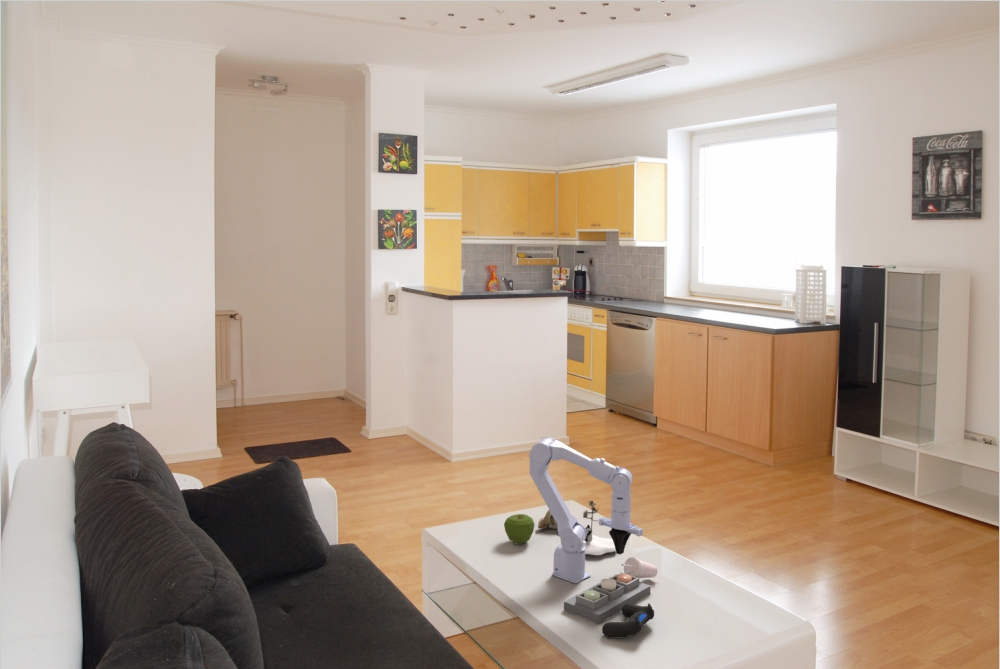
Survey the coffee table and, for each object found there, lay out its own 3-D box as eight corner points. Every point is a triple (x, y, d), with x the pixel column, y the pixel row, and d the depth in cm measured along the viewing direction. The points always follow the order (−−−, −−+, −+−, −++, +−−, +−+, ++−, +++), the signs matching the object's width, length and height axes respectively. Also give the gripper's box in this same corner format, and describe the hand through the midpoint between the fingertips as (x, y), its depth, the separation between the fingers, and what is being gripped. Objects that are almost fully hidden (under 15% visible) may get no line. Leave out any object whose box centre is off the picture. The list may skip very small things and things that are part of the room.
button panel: (563, 609, 218) (564, 594, 218) (616, 582, 237) (616, 567, 237) (598, 623, 210) (599, 608, 210) (650, 593, 229) (650, 579, 229)
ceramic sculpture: (573, 499, 289) (565, 514, 275) (573, 521, 291) (565, 537, 276) (545, 496, 292) (535, 511, 278) (545, 518, 294) (536, 534, 279)
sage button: (580, 600, 217) (580, 594, 217) (590, 595, 221) (590, 589, 220) (593, 605, 214) (593, 598, 214) (602, 600, 218) (603, 593, 217)
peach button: (613, 583, 229) (613, 577, 229) (621, 579, 232) (622, 572, 232) (626, 587, 226) (626, 581, 226) (634, 583, 229) (634, 576, 229)
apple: (515, 534, 277) (515, 507, 276) (540, 541, 271) (540, 513, 269) (497, 543, 268) (498, 515, 267) (523, 550, 262) (523, 521, 261)
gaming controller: (607, 648, 202) (638, 638, 197) (597, 627, 203) (628, 617, 198) (631, 623, 216) (661, 613, 211) (622, 603, 217) (651, 593, 212)
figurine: (609, 560, 251) (611, 510, 251) (556, 552, 259) (558, 503, 259) (624, 546, 270) (626, 499, 270) (574, 539, 277) (576, 493, 277)
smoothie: (664, 570, 236) (632, 565, 229) (653, 586, 238) (621, 582, 230) (652, 556, 242) (620, 550, 234) (641, 572, 243) (610, 567, 235)
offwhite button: (597, 588, 223) (597, 581, 223) (606, 583, 226) (606, 577, 226) (610, 593, 220) (610, 586, 220) (619, 588, 223) (619, 581, 223)
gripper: (648, 512, 232) (647, 555, 234) (608, 501, 242) (607, 543, 243) (635, 517, 227) (634, 562, 229) (595, 506, 237) (594, 549, 238)
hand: (619, 553), depth 236 cm, fingers closed
